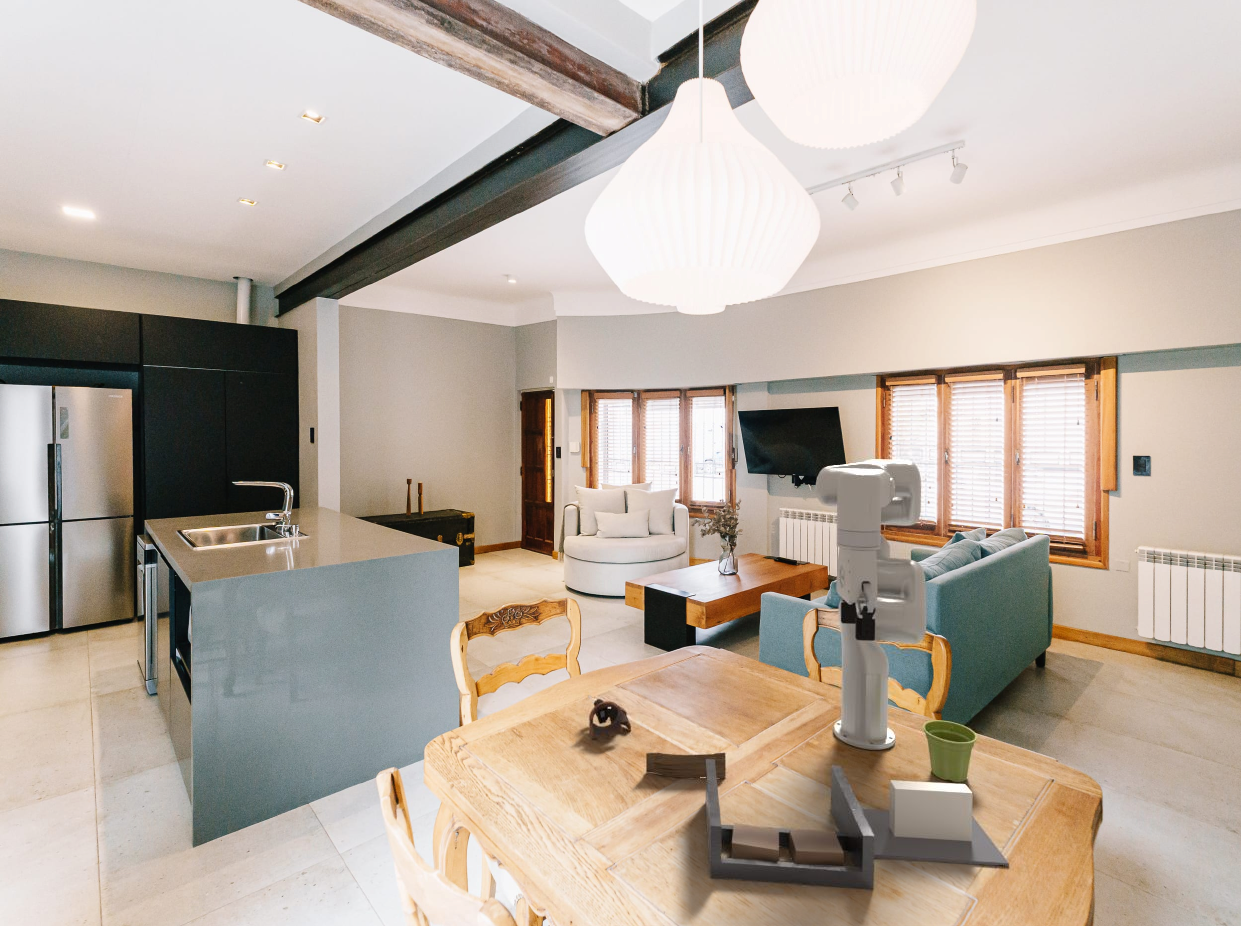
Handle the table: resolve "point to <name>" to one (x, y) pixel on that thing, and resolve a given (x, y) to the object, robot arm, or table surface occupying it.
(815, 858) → the offcut
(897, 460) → the robot arm
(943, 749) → the plant pot
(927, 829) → the white rectangular brick
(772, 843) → the offcut
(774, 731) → the table surface
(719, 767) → the wood plank
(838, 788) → the rack
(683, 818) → the table surface
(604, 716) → the pottery mug
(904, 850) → the mat
